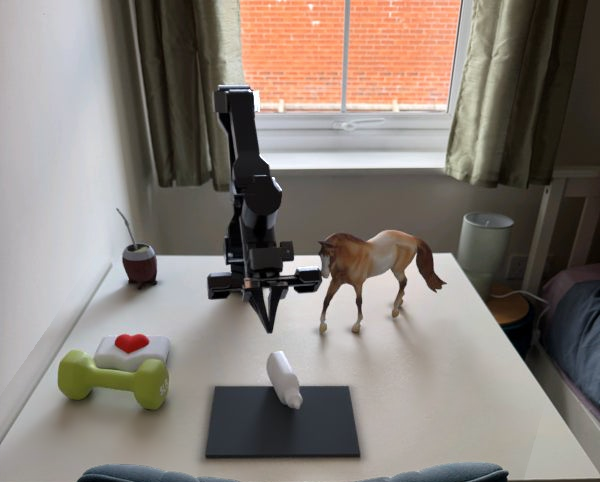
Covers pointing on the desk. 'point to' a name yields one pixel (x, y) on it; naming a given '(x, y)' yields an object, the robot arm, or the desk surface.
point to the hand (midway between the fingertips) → (270, 333)
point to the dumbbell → (113, 379)
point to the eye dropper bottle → (284, 380)
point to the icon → (130, 351)
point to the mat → (281, 423)
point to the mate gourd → (139, 261)
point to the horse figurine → (373, 265)
